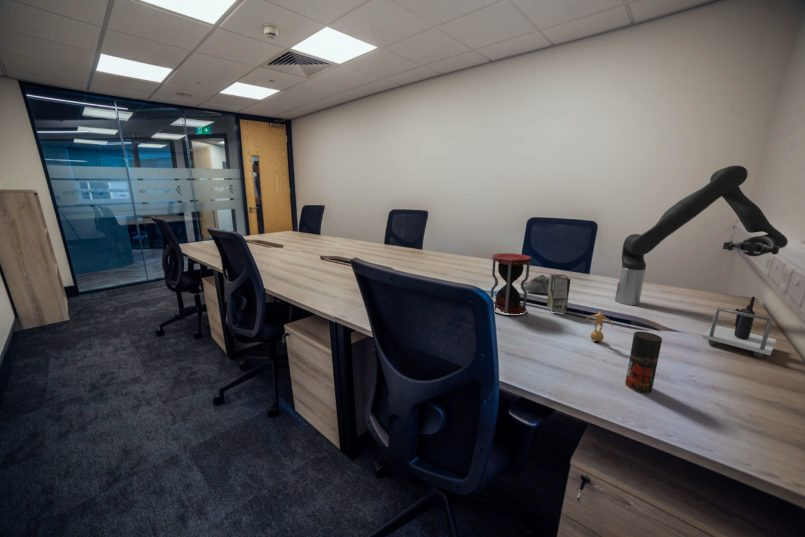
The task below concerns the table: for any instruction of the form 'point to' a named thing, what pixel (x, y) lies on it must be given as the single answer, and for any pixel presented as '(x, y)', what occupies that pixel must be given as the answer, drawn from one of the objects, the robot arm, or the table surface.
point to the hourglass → (510, 282)
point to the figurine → (596, 334)
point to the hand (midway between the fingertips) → (745, 249)
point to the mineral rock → (538, 284)
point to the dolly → (727, 336)
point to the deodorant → (643, 361)
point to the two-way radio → (744, 321)
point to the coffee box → (558, 293)
